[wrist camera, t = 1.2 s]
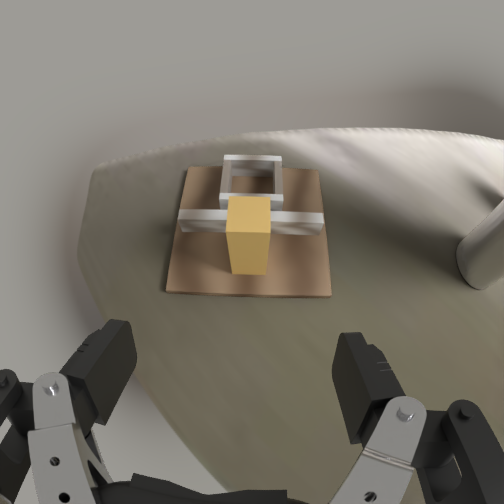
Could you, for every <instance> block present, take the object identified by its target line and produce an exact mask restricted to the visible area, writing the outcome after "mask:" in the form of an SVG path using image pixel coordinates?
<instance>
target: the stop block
mask: <svg viewBox="0 0 504 504" xmlns="http://www.w3.org/2000/svg"><path fill="white" fill-rule="evenodd" d="M270 233H271V214H270V197H250V196H229V201H228V211H227V222H226V237H227V244H228V250H229V257H230V263H231V269H232V274H246V275H266V267H267V259H268V250H269V242H270Z"/></svg>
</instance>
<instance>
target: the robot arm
mask: <svg viewBox="0 0 504 504" xmlns="http://www.w3.org/2000/svg"><path fill="white" fill-rule="evenodd" d="M456 258H457V264H458V267H459V270H460V272H461V274H462V276H463V277H464V279H465V280H466V281H467V282H468V284H470V285H471V286H472V287H474V288H476V289H479V290H482V289H485V288H487V287H489V286H490V285H492V284H494V283H495V282H497V281H498V280H500V279H501V278H503V277H504V199H503V200H502V201H501V203H500V204H499V205H498V206H497V207H496V208H495V209H494V210H493V211H492V212H491V213H490V214H489V215H488V216H487V217H486V218H485V219H484V220H483V221H482V222H481V223H480V224H479V225H478V226H477V227H476V228H475V229H474V230H472V231H471V232H470V233H469V234H468V235H467V236H466V237H465V238H464V239H463V240H462V241H461V242H460V243H459V244H458V247H457V251H456ZM136 362H137V352H136V348H135V343H134V339H133V334H132V329H131V325H130V323H129V322H128V321H121V320H114V319H110V320H109V321H108V322H107V323H106V324H105V326H104V327H103V328H102V329H101V330H99V329H98V330H97V331H95V332H94V333H92V334H90V335H89V336H88V337H87V338H86V339H85V341H84V342H83V343H82V345H81V346H80V347H79V348H78V349H77V351H76V352H75V353H74V354H73V355H72V356H71V358H70V359H69V360H68V361H67V363H66V364H65V365H64V366H63V368H62V369H61V370H60V372H59V373H55V372H52V373H47V374H44V375H42V376H40V377H39V378H38V379H37V380H36V381H35V382H34V383H26V382H19V380H18V378H17V376H16V374H15V373H14V372H13V371H12V370H9V369H4V370H0V426H1V425H2V423H3V422H4V420H5V419H6V417H7V418H8V419H9V421H10V422H11V424H12V425H11V427H10V429H9V430H8V432H7V434H6V435H5V437H4V439H3V440H2V442H1V444H0V504H14V502H15V499H16V497H17V495H18V492H19V490H20V488H21V485H22V483H23V481H24V479H25V476H26V474H27V472H28V470H29V468H30V465H31V466H32V471H33V477H34V482H35V487H36V492H37V496H38V500H39V504H308V503H305V502H303V501H299V500H295V499H290V498H287V490H243V491H237V492H229V493H221V494H213V495H206V494H201V493H199V492H196V491H193V490H190V489H187V488H185V487H182V486H180V485H177V484H174V483H172V482H170V481H166V480H161V479H156V478H152V477H147V476H144V475H139V474H136V473H133V476H132V479H131V481H119V482H113V480H112V478H111V476H110V475H109V473H108V471H107V469H106V466H105V464H104V461H103V458H102V456H101V453H100V450H99V447H98V444H97V441H96V438H95V435H94V432H93V430H92V426H93V424H94V422H95V423H98V424H101V425H106V423H107V421H108V419H109V417H110V415H111V413H112V411H113V409H114V407H115V405H116V403H117V401H118V399H119V397H120V395H121V393H122V391H123V389H124V387H125V386H126V384H127V382H128V380H129V378H130V376H131V374H132V372H133V370H134V369H135V366H136ZM332 378H333V382H334V386H335V389H336V393H337V396H338V400H339V403H340V407H341V410H342V414H343V417H344V421H345V425H346V428H347V432H348V436H349V440H350V444H358V443H362V447H363V450H362V452H361V453H360V455H359V457H358V459H357V460H356V462H355V464H354V465H353V467H352V468H351V470H350V472H349V473H348V475H347V476H346V478H345V479H344V481H343V482H342V484H341V485H340V487H339V488H338V490H337V491H336V493H335V494H334V496H333V497H332V498H331V500H330V501H329V502H328V504H399V503H400V501H401V499H402V497H403V495H404V492H405V490H406V488H407V486H408V483H409V481H410V478H411V476H412V473H413V470H414V468H416V471H417V474H418V478H419V481H420V484H421V488H422V491H423V495H424V499H425V502H426V504H504V452H503V450H502V448H501V446H500V444H499V442H498V440H497V438H496V437H495V435H494V433H493V431H492V429H491V427H490V426H489V424H488V422H487V420H486V419H485V417H484V415H483V414H482V412H481V410H480V409H479V407H478V406H477V405H476V404H474V403H473V402H471V401H468V400H457V401H455V402H453V403H452V404H451V405H450V407H449V408H448V410H447V411H431V410H426V409H425V407H424V406H423V404H422V403H421V402H419V401H418V400H416V399H414V398H412V397H407V396H406V395H405V393H404V391H403V389H402V387H401V386H400V384H399V382H398V380H397V378H396V376H395V374H394V372H393V371H392V370H391V367H390V365H389V363H387V360H386V358H385V356H384V354H383V353H382V351H380V350H379V349H378V348H377V347H376V346H374V345H373V344H370V345H367V343H366V341H365V339H364V337H363V335H362V333H361V332H352V333H341V334H340V336H339V339H338V344H337V348H336V352H335V356H334V361H333V365H332ZM454 456H455V458H456V461H457V463H458V466H459V468H460V471H461V474H462V478H461V475H460V472H459V470H458V467H457V465H456V462H455V460H454Z"/></svg>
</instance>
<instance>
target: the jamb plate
mask: <svg viewBox="0 0 504 504" xmlns="http://www.w3.org/2000/svg"><path fill="white" fill-rule="evenodd" d="M229 196H250V197H270V214H271V233H270V242H269V250H268V259H267V267H266V275H246V274H232V269H231V263H230V257H229V250H228V244H227V237H226V222H227V211H228V201H229ZM166 291H167V293H174V294H192V295H212V296H236V297H270V298H330V297H331V296H332V294H331V280H330V268H329V257H328V246H327V237H326V228H325V219H324V211H323V203H322V195H321V188H320V181H319V174H318V170H310V169H294V168H282V158H281V156H265V155H225V156H224V164H223V166H212V167H189V168H188V172H187V176H186V181H185V185H184V190H183V195H182V199H181V204H180V209H179V214H178V220H177V225H176V230H175V236H174V241H173V247H172V253H171V259H170V265H169V272H168V278H167V285H166Z"/></svg>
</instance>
